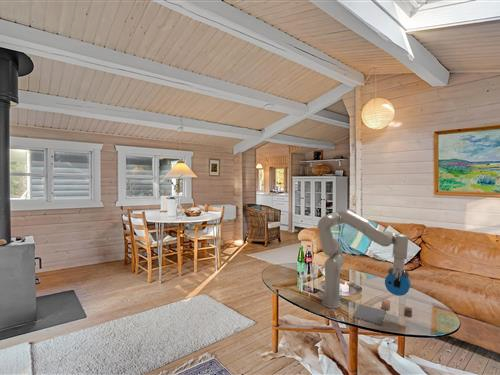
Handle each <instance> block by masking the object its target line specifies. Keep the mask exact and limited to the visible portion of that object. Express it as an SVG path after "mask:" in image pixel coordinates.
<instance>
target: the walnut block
mask: <svg viewBox="0 0 500 375" xmlns="http://www.w3.org/2000/svg"><path fill="white" fill-rule="evenodd" d="M403 310H404V311H403V316H405V317H410V318H412V315H413V308H412V307H408V306H404V308H403Z"/></svg>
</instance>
